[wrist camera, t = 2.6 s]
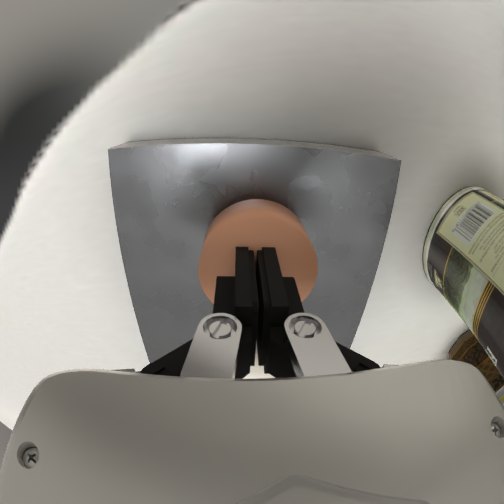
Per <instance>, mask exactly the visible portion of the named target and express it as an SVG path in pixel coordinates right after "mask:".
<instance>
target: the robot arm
mask: <svg viewBox="0 0 504 504" xmlns="http://www.w3.org/2000/svg"><path fill="white" fill-rule="evenodd" d="M256 340H257V353H258V365H259V366H264V374H270V375H272V376H273V377H275V378H259V379H243V378H244V377H245V376H247V375H248V374H249V373H250V366H254V365H255V353H256ZM0 504H504V407H503V405H502V403H501V402H500V400H499V398H498V396H497V395H496V393H495V391H494V390H493V388H492V387H491V385H490V384H489V382H488V381H487V379H486V378H485V377H484V376H483V374H482V373H481V372H480V371H479V370H478V369H477V368H476V367H474V366H473V365H471V364H468V363H465V362H462V361H455V360H431V361H423V362H417V363H410V364H404V365H386V364H384V365H383V367H380V366H379V365H378V364H376V363H375V362H373V361H372V360H370V359H368V358H366V357H364V356H362V355H360V354H358V353H356V352H354V351H352V350H351V349H349V348H347V347H345V346H343V345H341V344H339V343H337V342H336V341H334V339H333V337H332V335H331V334H330V332H329V330H328V328H327V327H326V325H325V323H324V322H323V321H322V319H320V318H319V317H317V316H315V315H313V314H309V313H305V312H304V309H303V305H302V302H301V299H300V295H299V292H298V288H297V285H296V282H295V279H294V277H282V273H281V269H280V265H279V261H278V257H277V253H276V249H275V247H262V250H257V258H256V272H255V262H254V252H253V250H248V247H236V252H235V276H217V278H216V287H215V296H214V306H213V314H210V315H208V316H206V317H204V318H203V319H202V320H201V321H200V323H199V325H198V327H197V330H196V333H195V335H194V338H193V339H191V340H190V341H188V342H186V343H185V344H183V345H181V346H180V347H178V348H176V349H175V350H173V351H171V352H169V353H168V354H166V355H164V356H163V357H161V358H159V359H157V360H156V361H154V362H152V363H150V364H149V365H147V366H146V367H145V368H143V369H142V371H138V372H135V370H134V369H122V370H104V369H73V370H67V371H61V372H57V373H54V374H51V375H48V376H47V377H45V378H43V379H42V380H41V381H40V382H39V383H38V384H37V385H36V387H35V388H34V389H33V391H32V392H31V394H30V395H29V397H28V399H27V400H26V402H25V404H24V406H23V408H22V410H21V412H20V414H19V417H18V419H17V421H16V424H15V426H14V429H13V431H12V434H11V437H10V440H9V443H8V446H7V449H6V452H5V456H4V459H3V463H2V466H1V470H0Z"/></svg>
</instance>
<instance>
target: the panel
mask: <svg viewBox="0 0 504 504" xmlns="http://www.w3.org/2000/svg"><path fill="white" fill-rule="evenodd" d="M108 154H109V167H110V178H111V187H112V196H113V204H114V211H115V218H116V225H117V231H118V237H119V243H120V248H121V253H122V259H123V264H124V268H125V273H126V278H127V282H128V287H129V291H130V295H131V299H132V303H133V307H134V311H135V315H136V318H137V322H138V326H139V329H140V333H141V336H142V339H143V343H144V346H145V349H146V352H147V356H148V359H149V362H150V363H152V362H154V361H156V360H157V359H159V358H161V357H163V356H164V355H166V354H168V353H169V352H171V351H173V350H175V349H176V348H178V347H180V346H181V345H183V344H185V343H186V342H188V341H190V340H191V339H193V338H194V335H195V333H196V330H197V327H198V325H199V323H200V321H201V320H202V319H203V318H204V317H206V316H208V315H210V314H213V306H214V304H213V303H212V302H211V301H210V300H209V298H208V297H207V296H206V294H205V293H204V291H203V289H202V287H201V284H200V280H199V274H198V266H199V260H200V256H201V252H202V248H203V244H204V240H205V237H206V233H207V230H208V228H209V226H210V224H211V223H212V221H213V220H214V218H215V217H216V216H217V215H218V214H219V213H220V212H222V211H223V210H224V209H226V208H227V207H229V206H231V205H233V204H235V203H237V202H241V201H244V200H250V199H263V200H269V201H273V202H276V203H279V204H281V205H283V206H285V207H286V208H288V209H289V210H291V211H292V212H293V213H294V214H295V215H296V216H297V217H298V219H299V220H300V222H301V223H302V225H303V227H304V229H305V231H306V233H307V235H308V237H309V239H310V241H311V244H312V246H313V248H314V250H315V253H316V256H317V261H318V273H317V278H316V282H315V284H314V286H313V288H312V290H311V292H310V293H309V295H308V296H307V297H306V298H305V299H304V300H303V301H302V305H303V309H304V312H305V313H309V314H313V315H315V316H317V317H319V318H320V319H322V321H323V322H324V323H325V325H326V327H327V328H328V330H329V332H330V334H331V335H332V337H333V339H334V341H336V342H337V343H339V344H341V345H343V346H345V347H347V348H349V349H350V347H351V344H352V342H353V339H354V336H355V334H356V331H357V328H358V326H359V323H360V320H361V317H362V314H363V312H364V309H365V306H366V303H367V300H368V297H369V294H370V290H371V287H372V284H373V281H374V278H375V274H376V271H377V267H378V264H379V260H380V257H381V253H382V249H383V245H384V242H385V238H386V234H387V230H388V225H389V221H390V217H391V212H392V208H393V203H394V198H395V193H396V188H397V182H398V177H399V171H400V165H401V160H398V159H396V158H393V157H391V156H389V155H386V154H384V153H381V152H379V151H373V150H367V149H360V148H353V147H346V146H339V145H330V144H322V143H312V142H301V141H289V140H274V139H254V138H179V139H158V140H144V141H132V142H126V143H124V144H121V145H118V146H115V147H113V148H110V149H108Z"/></svg>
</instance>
